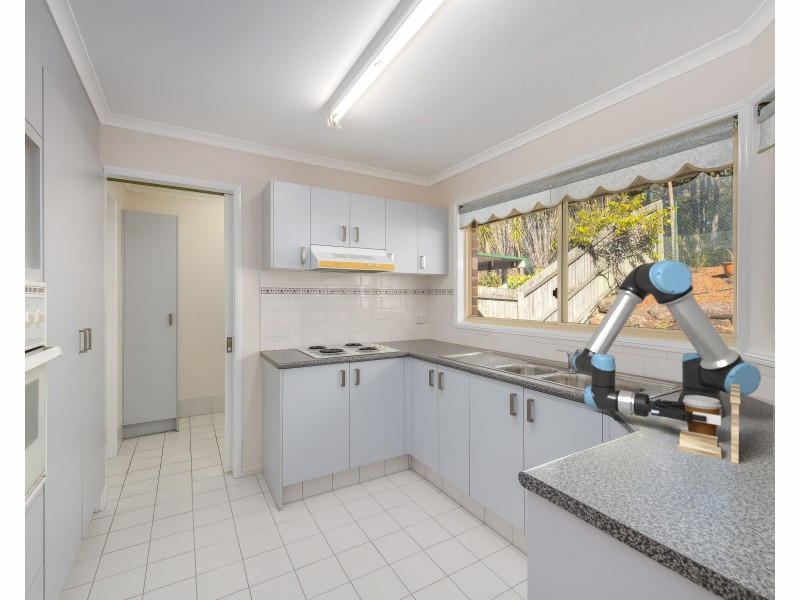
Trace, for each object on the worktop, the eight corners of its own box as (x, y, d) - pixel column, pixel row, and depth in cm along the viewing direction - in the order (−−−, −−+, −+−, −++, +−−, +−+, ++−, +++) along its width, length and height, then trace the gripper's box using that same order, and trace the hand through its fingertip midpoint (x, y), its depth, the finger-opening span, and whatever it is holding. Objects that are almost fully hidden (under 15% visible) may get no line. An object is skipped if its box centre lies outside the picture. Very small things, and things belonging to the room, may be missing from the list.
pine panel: (730, 437, 122) (731, 383, 122) (739, 439, 120) (739, 384, 120) (729, 462, 103) (730, 398, 103) (739, 464, 102) (740, 399, 102)
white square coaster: (664, 417, 142) (664, 414, 142) (705, 424, 134) (705, 421, 134) (659, 425, 133) (659, 422, 133) (703, 433, 125) (703, 430, 125)
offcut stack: (679, 445, 116) (679, 429, 116) (722, 454, 109) (722, 437, 109) (676, 450, 112) (676, 434, 112) (721, 460, 105) (721, 442, 105)
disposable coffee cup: (729, 444, 113) (729, 403, 113) (692, 441, 115) (692, 401, 115) (710, 433, 123) (710, 395, 123) (676, 431, 125) (676, 394, 125)
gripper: (640, 407, 139) (722, 420, 124) (628, 422, 123) (720, 439, 108) (640, 387, 139) (722, 397, 124) (628, 398, 123) (720, 412, 108)
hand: (721, 416), depth 116 cm, fingers closed on disposable coffee cup, 8 cm apart
